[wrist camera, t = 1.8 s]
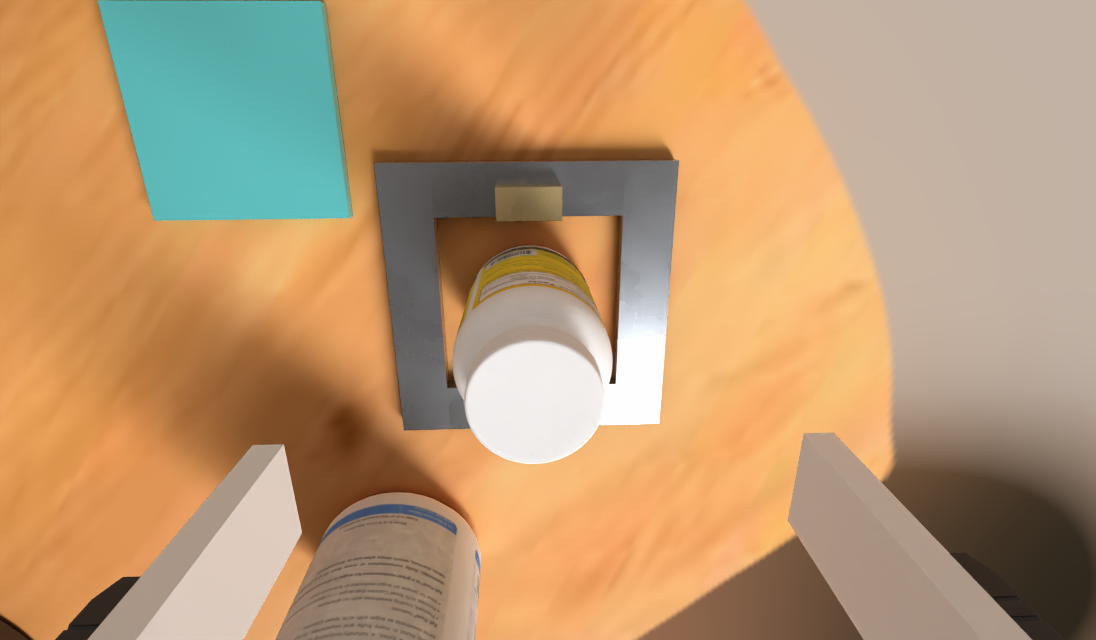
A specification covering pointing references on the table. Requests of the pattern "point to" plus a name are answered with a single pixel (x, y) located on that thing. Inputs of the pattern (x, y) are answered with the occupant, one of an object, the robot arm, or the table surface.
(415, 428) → the socket plate
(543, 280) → the pill bottle
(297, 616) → the supplement tub
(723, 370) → the table surface
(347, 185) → the coaster
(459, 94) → the table surface
